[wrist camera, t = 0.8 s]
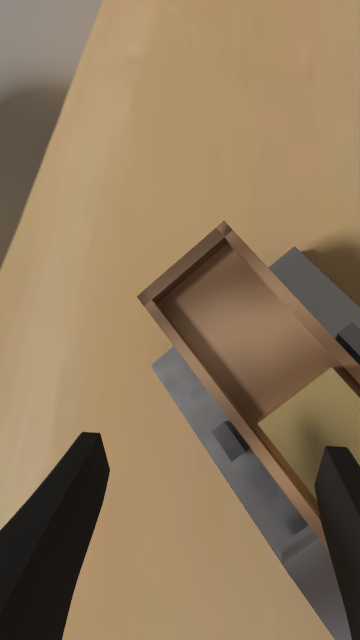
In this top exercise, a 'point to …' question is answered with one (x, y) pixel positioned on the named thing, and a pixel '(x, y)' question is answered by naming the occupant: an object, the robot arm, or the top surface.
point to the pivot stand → (218, 431)
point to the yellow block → (314, 423)
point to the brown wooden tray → (255, 375)
